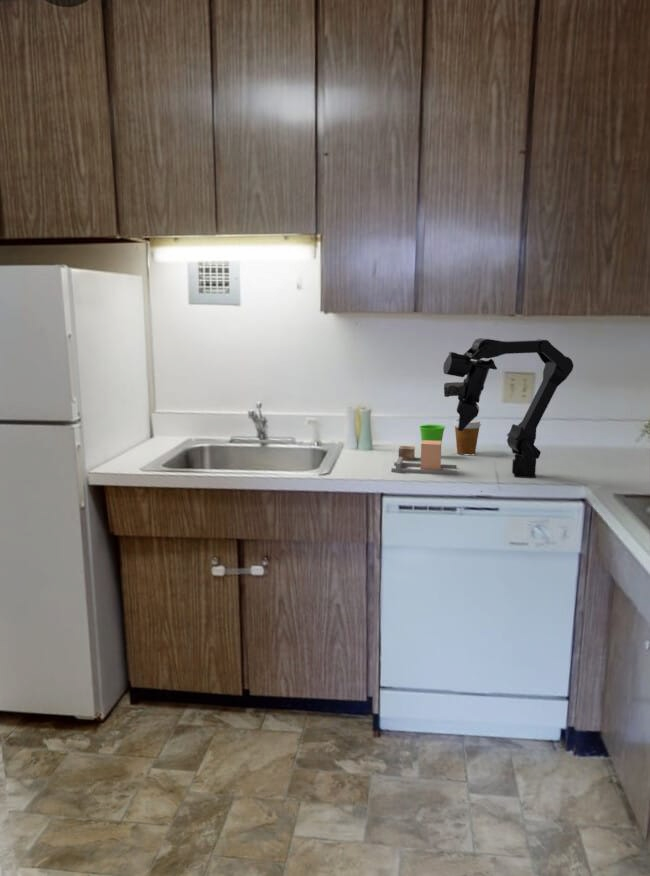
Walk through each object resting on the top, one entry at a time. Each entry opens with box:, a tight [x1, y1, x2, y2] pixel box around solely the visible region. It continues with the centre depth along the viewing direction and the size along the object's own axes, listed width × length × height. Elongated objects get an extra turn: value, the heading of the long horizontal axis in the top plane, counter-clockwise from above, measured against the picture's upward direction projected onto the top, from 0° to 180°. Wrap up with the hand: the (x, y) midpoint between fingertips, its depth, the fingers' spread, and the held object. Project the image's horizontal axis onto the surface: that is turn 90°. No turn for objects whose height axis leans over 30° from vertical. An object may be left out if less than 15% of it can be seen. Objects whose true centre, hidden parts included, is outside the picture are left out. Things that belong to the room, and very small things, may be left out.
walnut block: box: [398, 445, 416, 462], centre depth 229 cm, size 5×5×5 cm
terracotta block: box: [420, 439, 442, 470], centre depth 212 cm, size 6×6×9 cm
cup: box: [418, 424, 446, 444], centre depth 234 cm, size 9×9×11 cm
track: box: [390, 456, 458, 476], centre depth 213 cm, size 20×10×4 cm, turn 78°
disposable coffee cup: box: [453, 418, 482, 455], centre depth 240 cm, size 10×10×12 cm
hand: (460, 425), depth 208 cm, fingers open, 9 cm apart
